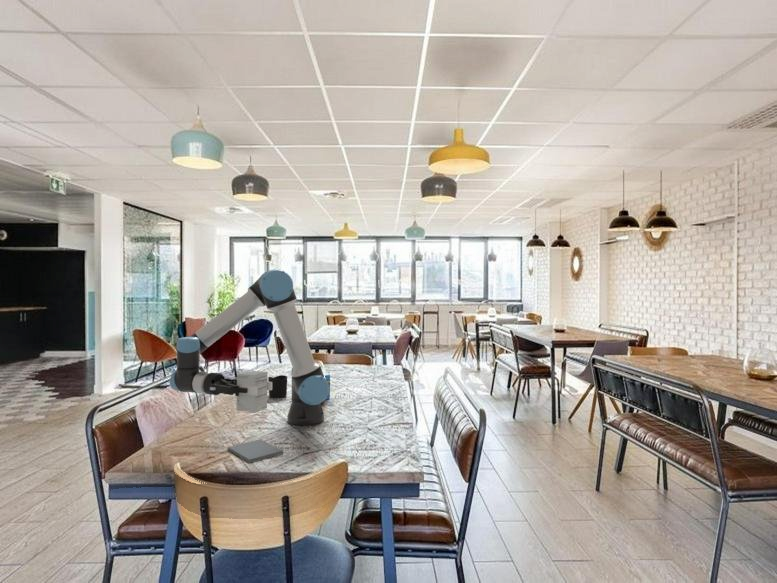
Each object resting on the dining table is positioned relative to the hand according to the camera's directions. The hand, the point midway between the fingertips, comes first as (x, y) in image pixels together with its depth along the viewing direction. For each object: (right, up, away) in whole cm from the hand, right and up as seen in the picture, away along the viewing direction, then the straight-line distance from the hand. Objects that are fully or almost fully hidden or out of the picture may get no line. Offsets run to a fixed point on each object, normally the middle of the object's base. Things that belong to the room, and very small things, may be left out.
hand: (264, 388), depth 155 cm
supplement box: (-5, -8, +2) cm, 9 cm away
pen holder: (-15, -21, +82) cm, 86 cm away
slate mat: (-4, -22, +3) cm, 22 cm away
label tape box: (+8, -22, +75) cm, 79 cm away
